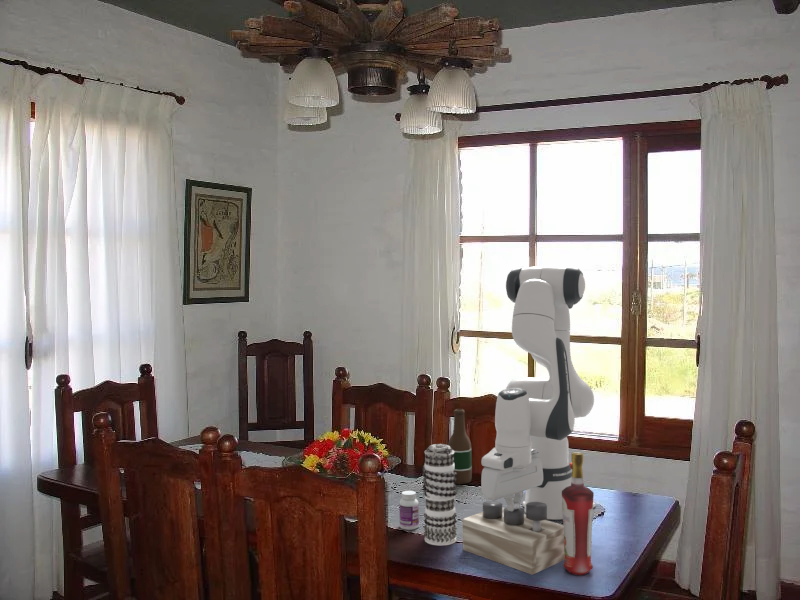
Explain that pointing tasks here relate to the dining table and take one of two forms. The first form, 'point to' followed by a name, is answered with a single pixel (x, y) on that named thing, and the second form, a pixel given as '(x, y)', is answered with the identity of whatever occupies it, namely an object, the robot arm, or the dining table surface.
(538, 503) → the knob
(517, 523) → the knob
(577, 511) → the liquor
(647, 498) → the dining table surface
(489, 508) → the knob
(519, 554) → the console
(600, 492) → the dining table surface
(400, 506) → the pill bottle
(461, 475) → the beer bottle
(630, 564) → the dining table surface
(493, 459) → the robot arm
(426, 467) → the decorative candle
